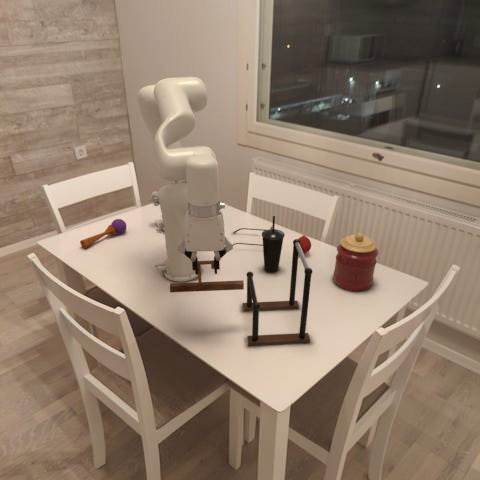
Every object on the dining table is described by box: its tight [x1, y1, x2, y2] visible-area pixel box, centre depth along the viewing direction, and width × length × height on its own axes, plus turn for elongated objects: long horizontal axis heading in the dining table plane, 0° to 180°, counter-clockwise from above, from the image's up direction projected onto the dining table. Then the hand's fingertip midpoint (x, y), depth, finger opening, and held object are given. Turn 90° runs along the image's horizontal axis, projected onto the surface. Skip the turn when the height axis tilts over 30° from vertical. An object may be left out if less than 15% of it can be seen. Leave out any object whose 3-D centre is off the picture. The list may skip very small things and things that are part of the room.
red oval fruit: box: [297, 234, 312, 255], centre depth 163 cm, size 6×6×8 cm
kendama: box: [79, 218, 127, 249], centre depth 174 cm, size 6×6×20 cm
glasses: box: [232, 226, 272, 247], centre depth 172 cm, size 14×16×5 cm
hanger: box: [169, 259, 245, 293], centre depth 119 cm, size 20×2×9 cm, turn 95°
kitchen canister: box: [332, 232, 379, 292], centre depth 144 cm, size 13×13×18 cm
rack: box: [241, 238, 313, 347], centre depth 123 cm, size 17×19×23 cm
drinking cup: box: [261, 215, 286, 274], centre depth 150 cm, size 8×8×20 cm
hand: (206, 271), depth 118 cm, fingers closed on hanger, 4 cm apart
